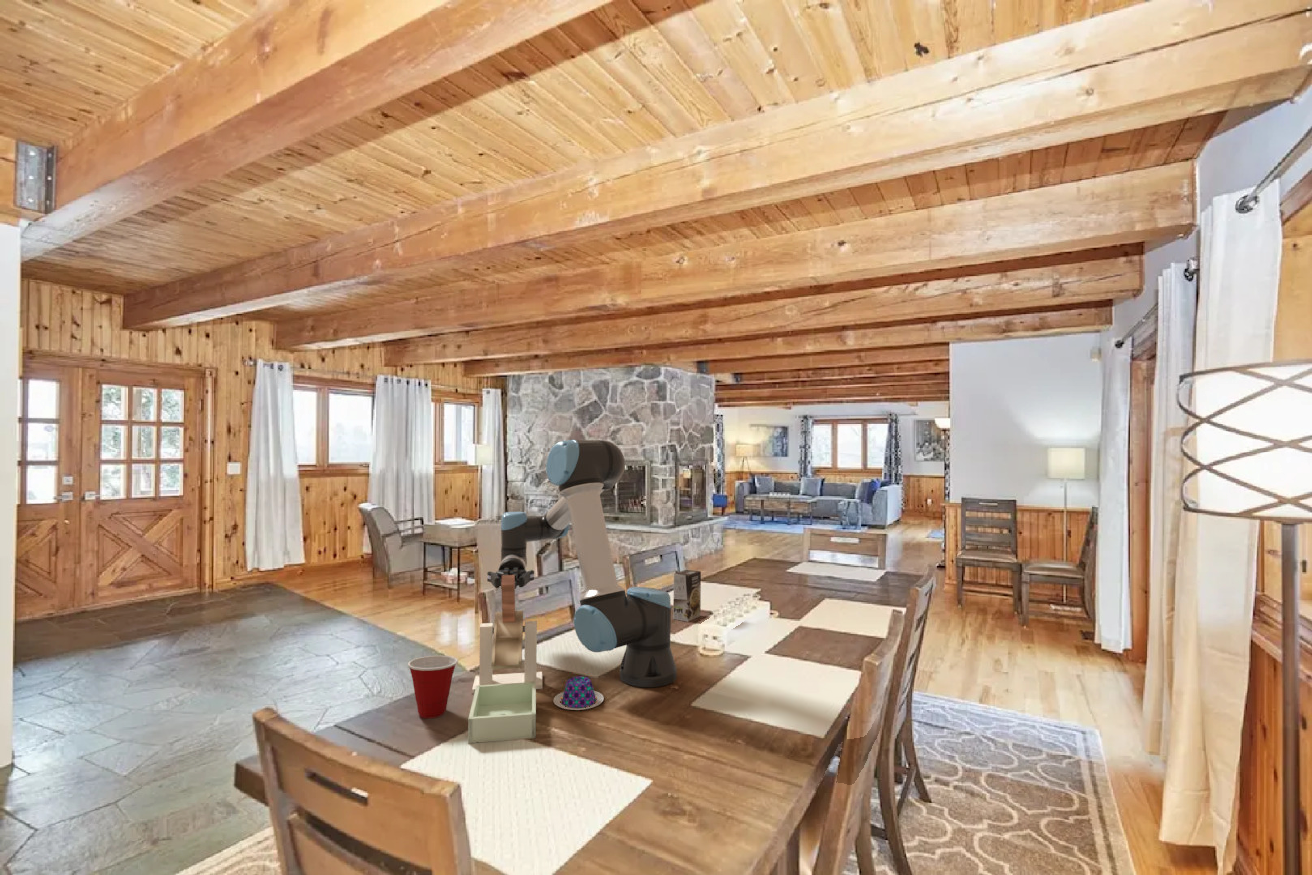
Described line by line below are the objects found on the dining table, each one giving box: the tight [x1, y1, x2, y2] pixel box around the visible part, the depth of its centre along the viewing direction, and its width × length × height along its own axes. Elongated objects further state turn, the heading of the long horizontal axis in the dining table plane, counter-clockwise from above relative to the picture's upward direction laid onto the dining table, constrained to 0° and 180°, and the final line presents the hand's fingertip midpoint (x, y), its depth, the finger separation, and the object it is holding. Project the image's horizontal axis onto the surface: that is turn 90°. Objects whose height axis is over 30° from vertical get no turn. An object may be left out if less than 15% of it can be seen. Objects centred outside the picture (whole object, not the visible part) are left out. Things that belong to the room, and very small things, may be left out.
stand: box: [471, 620, 543, 694], centre depth 159 cm, size 9×17×16 cm, turn 101°
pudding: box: [553, 675, 605, 711], centre depth 149 cm, size 12×12×5 cm
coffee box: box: [672, 569, 702, 623], centre depth 219 cm, size 9×6×16 cm
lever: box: [491, 575, 524, 670], centre depth 150 cm, size 16×7×15 cm
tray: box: [467, 682, 537, 744], centre depth 137 cm, size 18×14×5 cm
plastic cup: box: [407, 655, 459, 719], centre depth 142 cm, size 11×11×12 cm
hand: (507, 589), depth 156 cm, fingers closed
